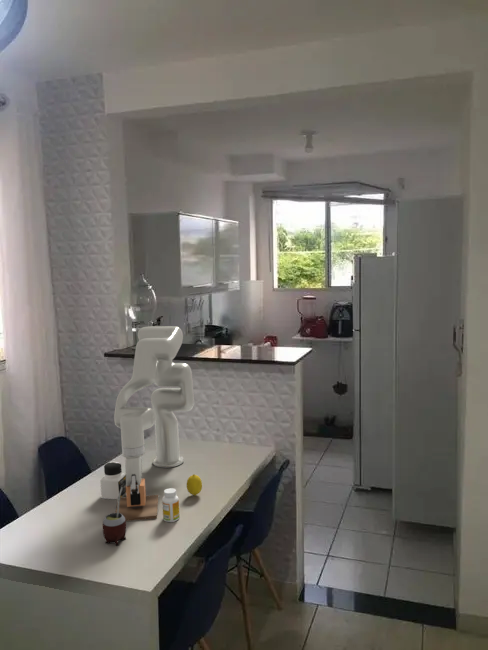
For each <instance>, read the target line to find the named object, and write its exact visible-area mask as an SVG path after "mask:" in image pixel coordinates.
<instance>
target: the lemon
mask: <svg viewBox="0 0 488 650" xmlns="http://www.w3.org/2000/svg"><path fill="white" fill-rule="evenodd" d="M186 489H187V492H188V493H189V494H191V495H193V496H194V497H196V496H197V495H198V494H200V493H201V491H202V489H203V482H202V479H201V477H200V476H199V475H197V474H192V475H190V476H189V477H188V478H187V481H186Z"/></svg>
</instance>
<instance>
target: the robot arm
mask: <svg viewBox="0 0 488 650" xmlns="http://www.w3.org/2000/svg"><path fill="white" fill-rule="evenodd" d="M137 338H138V341H137V343H136V345H135V352H134V359H133V369H132V376H131V378H130V380H129V381H128V382H126V383H125V384H124V385H123V387H121V390H120V391H119V393H118V395H117V397H116V400H115V408H114V414H113V420H114V421H113V422H114V425H115V426H116V427H117V428H119V429H120V436H121V437H120V438H121V452H122V453H121V454H122V457H124V459H125V463H124V464H125V467H124V468H125V473H126V486H130V487H131V494H130V498H131V505H140V504H141V500H140V493H139V485H140V484H141V479H143V478H142V477H143V458H142V457H143V456H144V455H145V453H146V450H145V445H146V444H145V433H144V432H145V431H146V430H149V429H151V428H152V427H153V426H154V432H155V433H154V434H155V435H154V437H155V448H156V449H155V450H156V452H155V453H156V454H155V455H156V457H155V458H154V459H152V460H153V461H152V464H153V465H154V466H155V467H157V468H164V469H168V468H173V467H177V466H178V467H179V466H180V465H181V464H183V462H184V461H185V460H184V456H182V455H181V454H180V435H179V434H180V433H179V421H178V419H177V416H176V414H175V413H174V412H190V411H192V410H193V408H194V406H195V394H194V393H195V392H194V381H193V372H192V368H191V366H190V365H189V364H188V363H185V362H173V360H174V359H175V358H176V356H177V354H178V352H179V350H180V348H181V346H182V344H183V342H184V341H183V340H184V333H183V330H182V329H181V328H180V327H179V326H175V325H172V326H171V325H167V326H165V325H164V326H162V325H161V326H155V325H153V326H151V325H150V326H143V327H140V328H139V329H138V331H137ZM153 384H154V385H156V386H157V387H160V388H157V389H155V390H153V391H152V393H151V395H150V401H151V407H150V406H147V407H145V406H140V407H139V406H127V403H128V400H129V399H130V398H131V397H132V396H133V395H134V394H135V393H137V392H138V391H141V390H142V389H144V388H147V387H149V386H152V385H153ZM136 483H138V484H136ZM136 486H137V488H136Z"/></svg>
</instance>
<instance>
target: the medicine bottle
mask: <svg viewBox="0 0 488 650" xmlns="http://www.w3.org/2000/svg"><path fill="white" fill-rule="evenodd" d="M103 469H104V470H103V471H104V476H103V477H102V478H101V479H100V482H99V483H100V495H101V499H103V500H118V496H119V492H120V489H121V487H123V488H122V491H121V495H120V498H123V497H124V496H125V495H126V472H123V471H122V463H120V462H119V461H110V462H107V463H106V464H104V466H103Z"/></svg>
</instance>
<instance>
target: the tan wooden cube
mask: <svg viewBox="0 0 488 650" xmlns="http://www.w3.org/2000/svg"><path fill="white" fill-rule="evenodd" d="M136 484H138V483H136ZM136 488H137V486H136ZM146 490H147V489H146V478H142V479H141V484H140V485H139V493H140V500H141V504H140V505H131V498H130V494H131V487H130V486H126V493H125V496H126V498H127V507H131V506H143V505H145V502H146V496H147V491H146Z"/></svg>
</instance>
